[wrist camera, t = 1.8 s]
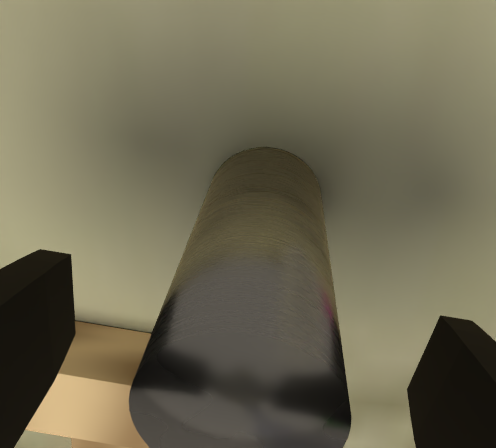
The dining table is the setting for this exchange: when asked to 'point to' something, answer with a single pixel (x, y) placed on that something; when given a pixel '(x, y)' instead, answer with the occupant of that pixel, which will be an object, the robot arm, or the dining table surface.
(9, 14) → the dining table surface
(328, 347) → the cylindrical peg
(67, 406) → the square wooden frame
